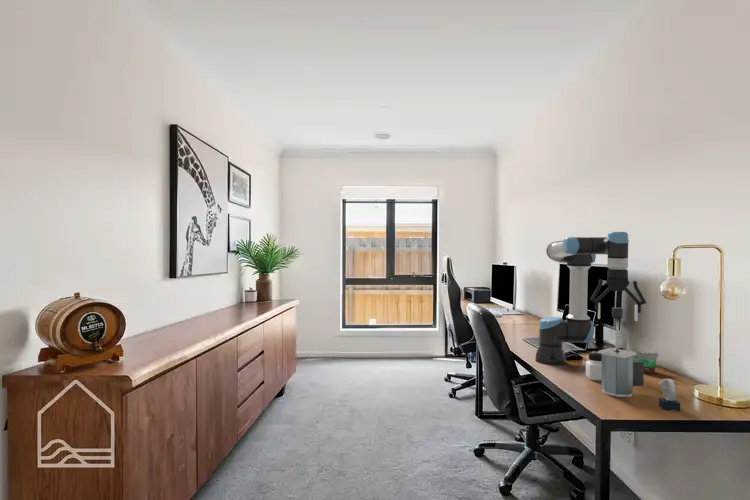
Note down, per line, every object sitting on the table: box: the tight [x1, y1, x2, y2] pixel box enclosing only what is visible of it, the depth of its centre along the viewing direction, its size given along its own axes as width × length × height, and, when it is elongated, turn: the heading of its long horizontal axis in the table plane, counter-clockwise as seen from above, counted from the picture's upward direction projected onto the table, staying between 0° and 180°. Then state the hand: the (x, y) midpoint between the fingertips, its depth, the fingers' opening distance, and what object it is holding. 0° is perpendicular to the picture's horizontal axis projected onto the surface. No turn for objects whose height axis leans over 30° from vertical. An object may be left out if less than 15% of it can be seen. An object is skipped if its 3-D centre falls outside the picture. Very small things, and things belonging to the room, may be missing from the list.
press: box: [597, 347, 645, 399], centre depth 183 cm, size 16×12×17 cm
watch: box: [658, 378, 681, 412], centre depth 165 cm, size 6×8×11 cm
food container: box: [630, 349, 659, 375], centre depth 214 cm, size 12×6×10 cm, turn 73°
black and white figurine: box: [585, 351, 602, 382], centre depth 203 cm, size 7×7×12 cm
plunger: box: [611, 307, 624, 352], centre depth 182 cm, size 9×9×23 cm
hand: (617, 319), depth 182 cm, fingers open, 13 cm apart
